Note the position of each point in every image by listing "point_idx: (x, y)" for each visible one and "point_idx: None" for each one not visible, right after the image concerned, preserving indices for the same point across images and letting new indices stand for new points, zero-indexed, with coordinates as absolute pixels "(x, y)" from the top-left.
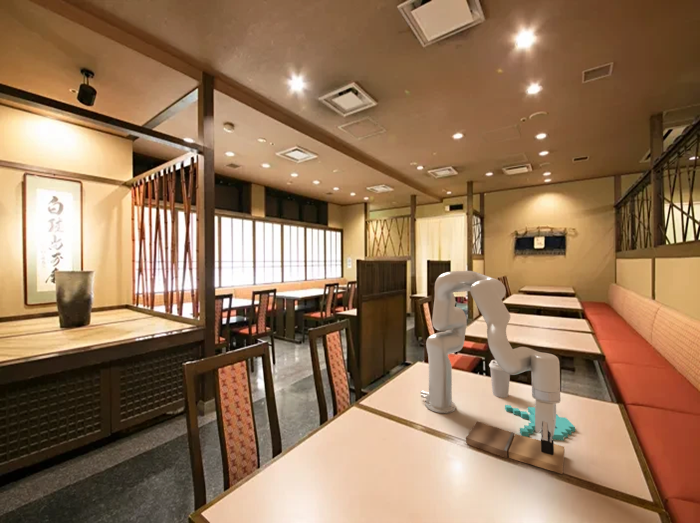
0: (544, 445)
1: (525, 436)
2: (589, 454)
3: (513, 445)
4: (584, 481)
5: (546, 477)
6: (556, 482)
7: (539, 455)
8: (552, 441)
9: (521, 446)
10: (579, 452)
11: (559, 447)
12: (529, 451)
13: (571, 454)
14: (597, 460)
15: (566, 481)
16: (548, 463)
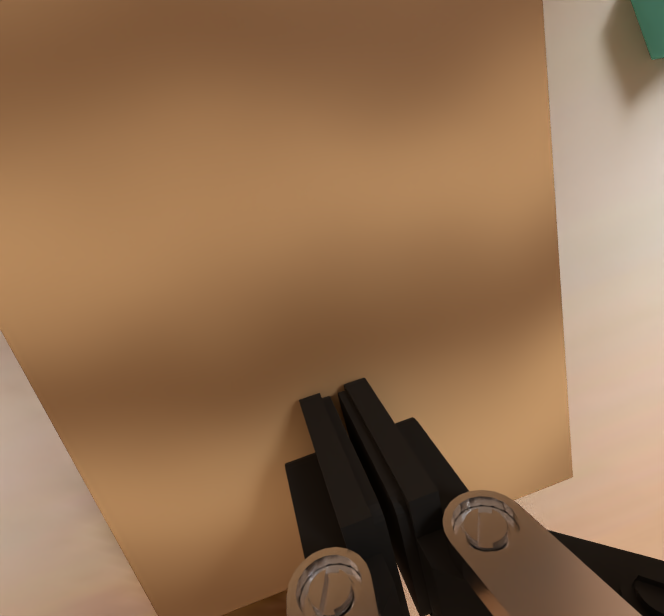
0: (298, 525)
1: (639, 22)
2: (641, 489)
3: (139, 25)
4: (280, 613)
5: (37, 489)
6: (56, 554)
7: (197, 415)
8: (429, 612)
9: (221, 149)
10: (630, 450)
11: (530, 459)
12: (182, 294)
13: None
14: (597, 538)
15: None
16: (122, 538)
